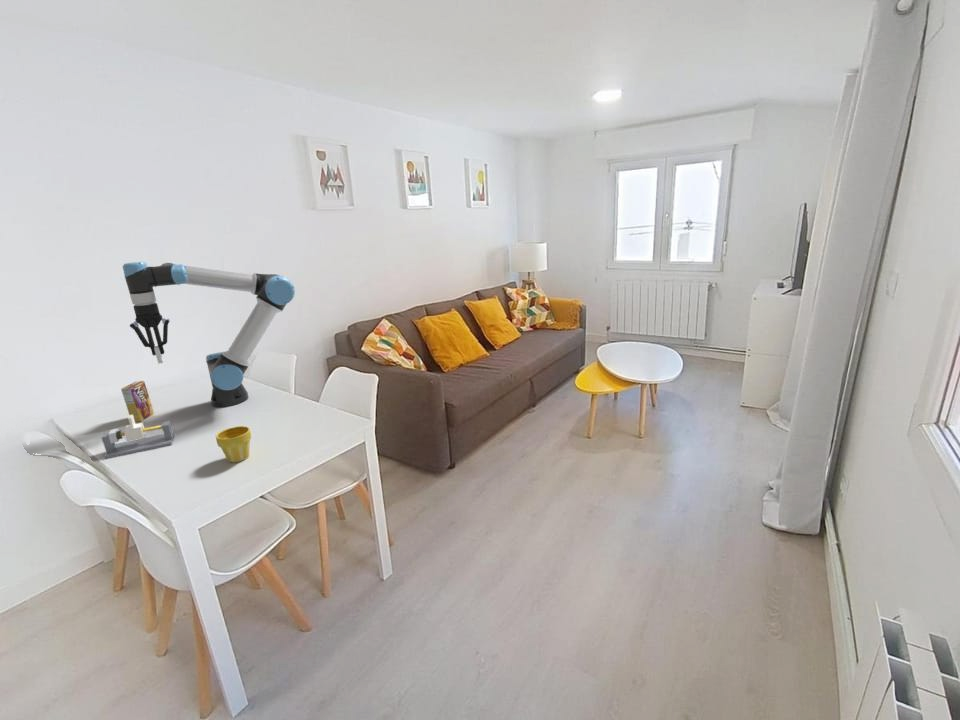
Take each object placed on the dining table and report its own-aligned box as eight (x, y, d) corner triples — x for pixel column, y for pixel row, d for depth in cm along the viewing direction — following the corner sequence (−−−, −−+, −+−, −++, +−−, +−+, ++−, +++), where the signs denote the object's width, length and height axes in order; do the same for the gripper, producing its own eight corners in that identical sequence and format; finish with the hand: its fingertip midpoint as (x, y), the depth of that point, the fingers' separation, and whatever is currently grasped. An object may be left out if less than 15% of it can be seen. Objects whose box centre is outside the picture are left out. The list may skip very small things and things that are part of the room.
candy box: (144, 413, 199) (135, 381, 195) (154, 413, 199) (145, 380, 195) (130, 422, 191) (120, 388, 186) (140, 421, 191) (131, 387, 186)
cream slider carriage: (145, 433, 171) (139, 412, 168) (143, 438, 167) (137, 417, 164) (129, 436, 169) (123, 415, 166) (127, 441, 165) (120, 420, 162)
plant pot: (229, 451, 162) (224, 426, 159) (259, 449, 163) (254, 424, 160) (216, 466, 152) (209, 440, 149) (248, 464, 153) (242, 438, 150)
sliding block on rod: (175, 434, 178) (170, 416, 175) (171, 444, 169) (166, 425, 167) (112, 447, 169) (106, 428, 167) (105, 458, 161) (98, 438, 158)
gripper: (166, 300, 179) (181, 357, 187) (126, 304, 174) (142, 363, 181) (163, 302, 173) (179, 361, 180) (122, 307, 168) (139, 368, 175)
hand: (161, 362), depth 181 cm, fingers closed
